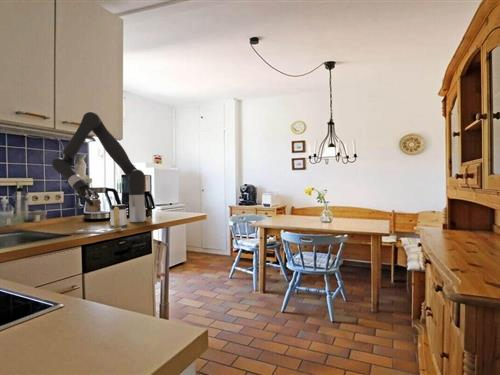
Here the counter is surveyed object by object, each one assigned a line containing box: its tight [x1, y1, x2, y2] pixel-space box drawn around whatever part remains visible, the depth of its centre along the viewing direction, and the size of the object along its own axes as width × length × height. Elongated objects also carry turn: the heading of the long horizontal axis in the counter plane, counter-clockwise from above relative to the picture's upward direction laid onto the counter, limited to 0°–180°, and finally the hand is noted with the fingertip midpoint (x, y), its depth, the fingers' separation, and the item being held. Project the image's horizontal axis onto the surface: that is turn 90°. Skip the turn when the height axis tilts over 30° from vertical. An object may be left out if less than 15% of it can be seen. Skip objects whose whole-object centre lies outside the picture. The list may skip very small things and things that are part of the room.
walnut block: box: [85, 198, 102, 213], centre depth 181 cm, size 5×5×7 cm
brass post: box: [111, 207, 122, 231], centre depth 172 cm, size 4×4×12 cm
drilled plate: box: [75, 227, 115, 235], centre depth 165 cm, size 8×17×1 cm, turn 73°
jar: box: [109, 203, 128, 227], centre depth 190 cm, size 9×8×12 cm
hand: (96, 204), depth 181 cm, fingers closed on walnut block, 5 cm apart
